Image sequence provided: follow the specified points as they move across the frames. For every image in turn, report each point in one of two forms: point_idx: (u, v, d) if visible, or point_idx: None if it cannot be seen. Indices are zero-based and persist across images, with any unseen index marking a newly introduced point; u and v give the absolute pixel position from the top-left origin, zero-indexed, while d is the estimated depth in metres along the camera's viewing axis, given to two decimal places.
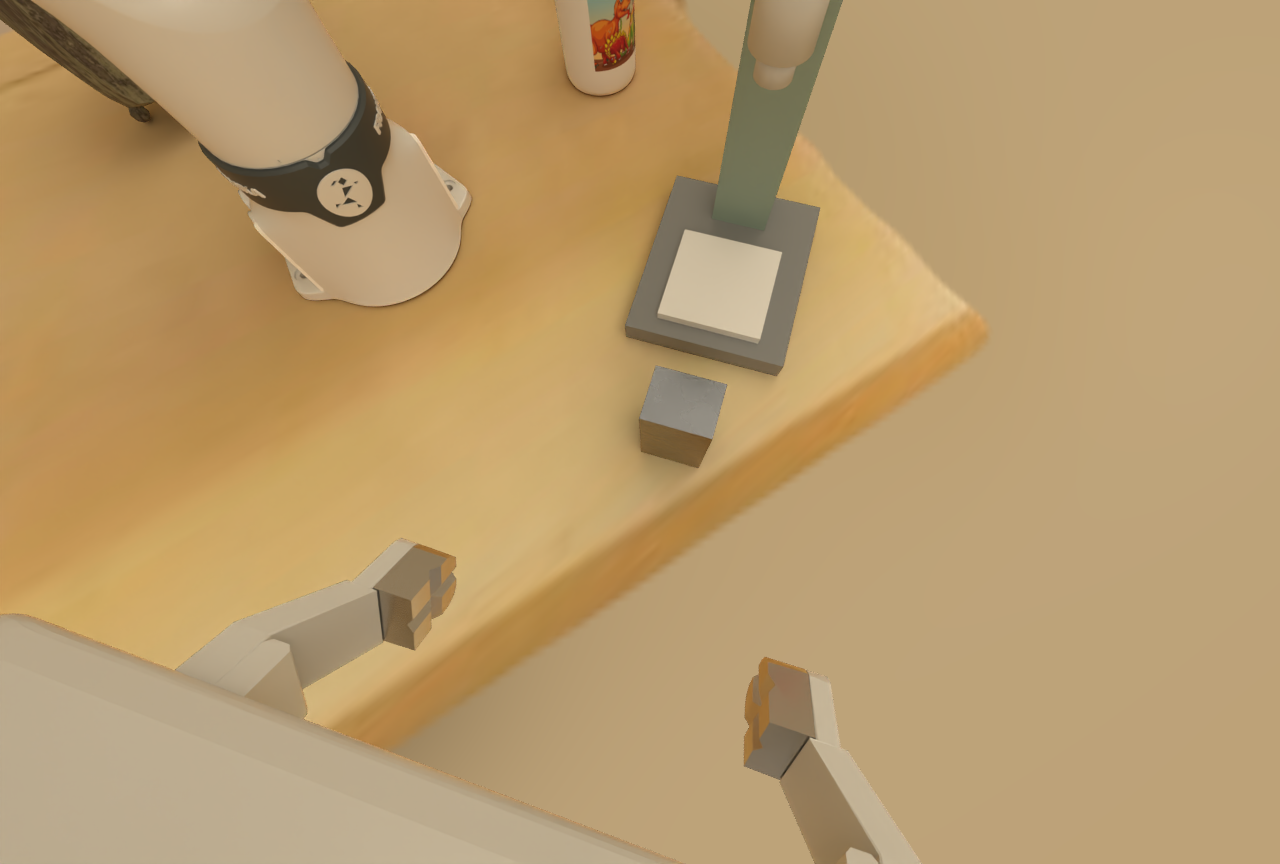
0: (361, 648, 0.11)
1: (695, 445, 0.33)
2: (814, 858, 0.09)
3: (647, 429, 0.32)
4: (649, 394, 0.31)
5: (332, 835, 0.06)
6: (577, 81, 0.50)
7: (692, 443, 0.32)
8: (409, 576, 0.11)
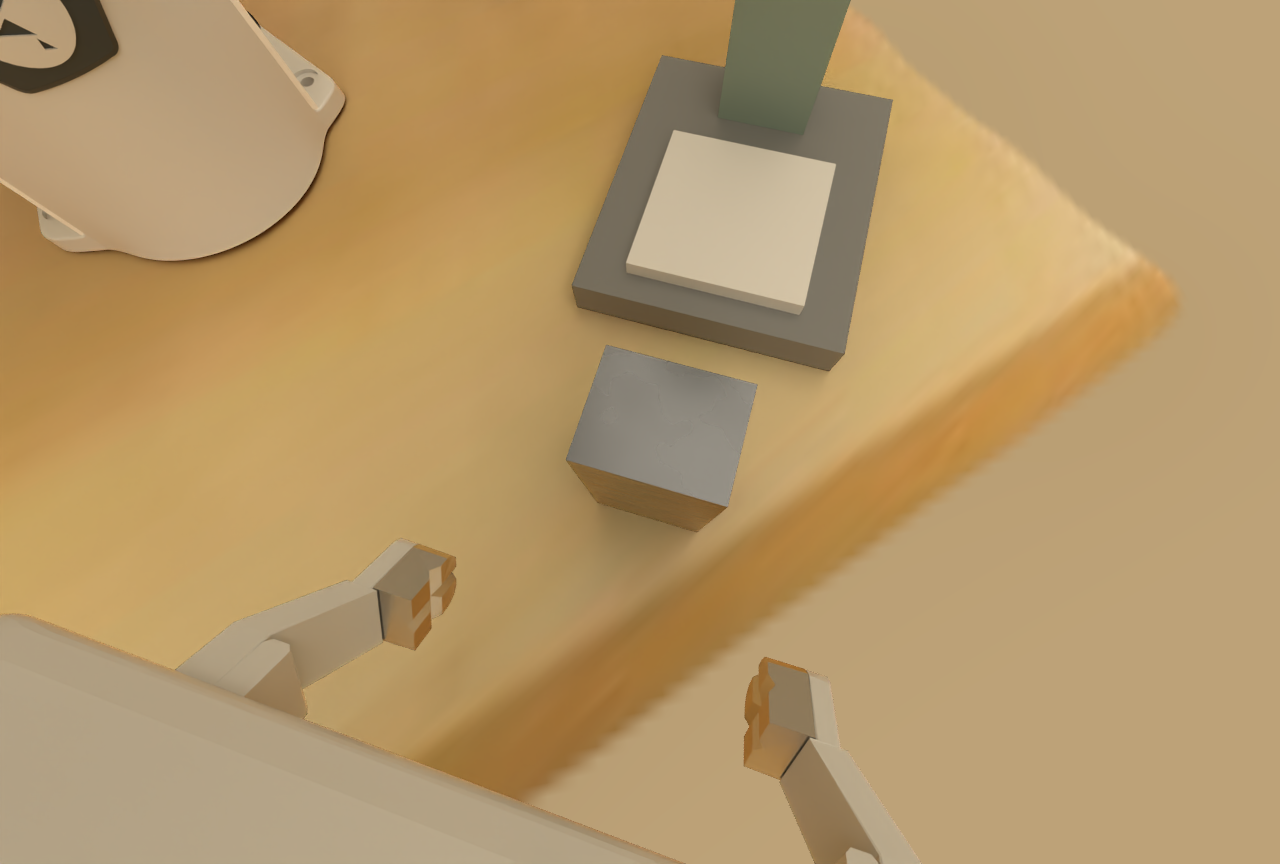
0: (361, 648, 0.11)
1: (690, 509, 0.16)
2: (814, 857, 0.09)
3: (591, 477, 0.16)
4: (590, 406, 0.14)
5: (332, 835, 0.06)
6: None
7: (683, 506, 0.16)
8: (409, 576, 0.11)
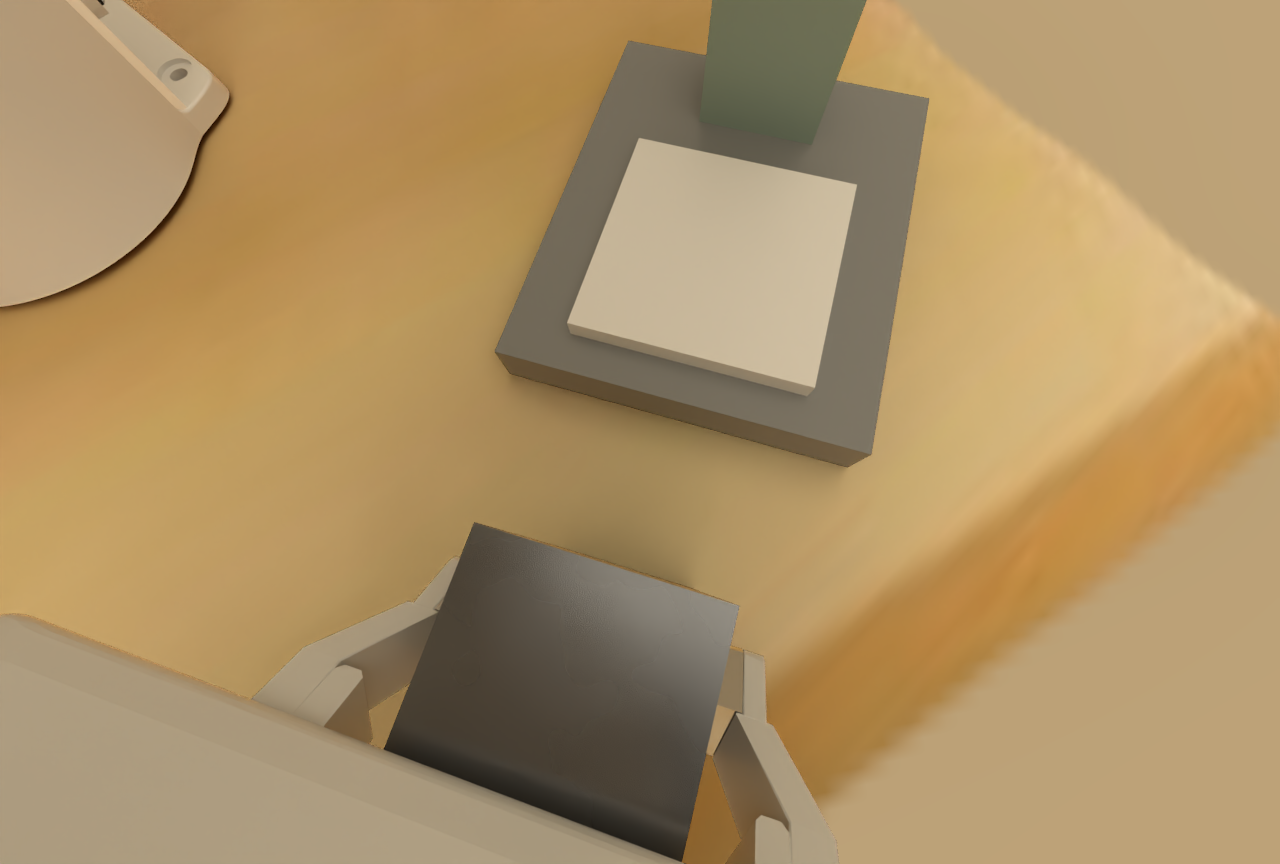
0: None
1: None
2: (740, 830, 0.09)
3: None
4: (435, 647, 0.08)
5: (332, 835, 0.06)
6: None
7: None
8: None
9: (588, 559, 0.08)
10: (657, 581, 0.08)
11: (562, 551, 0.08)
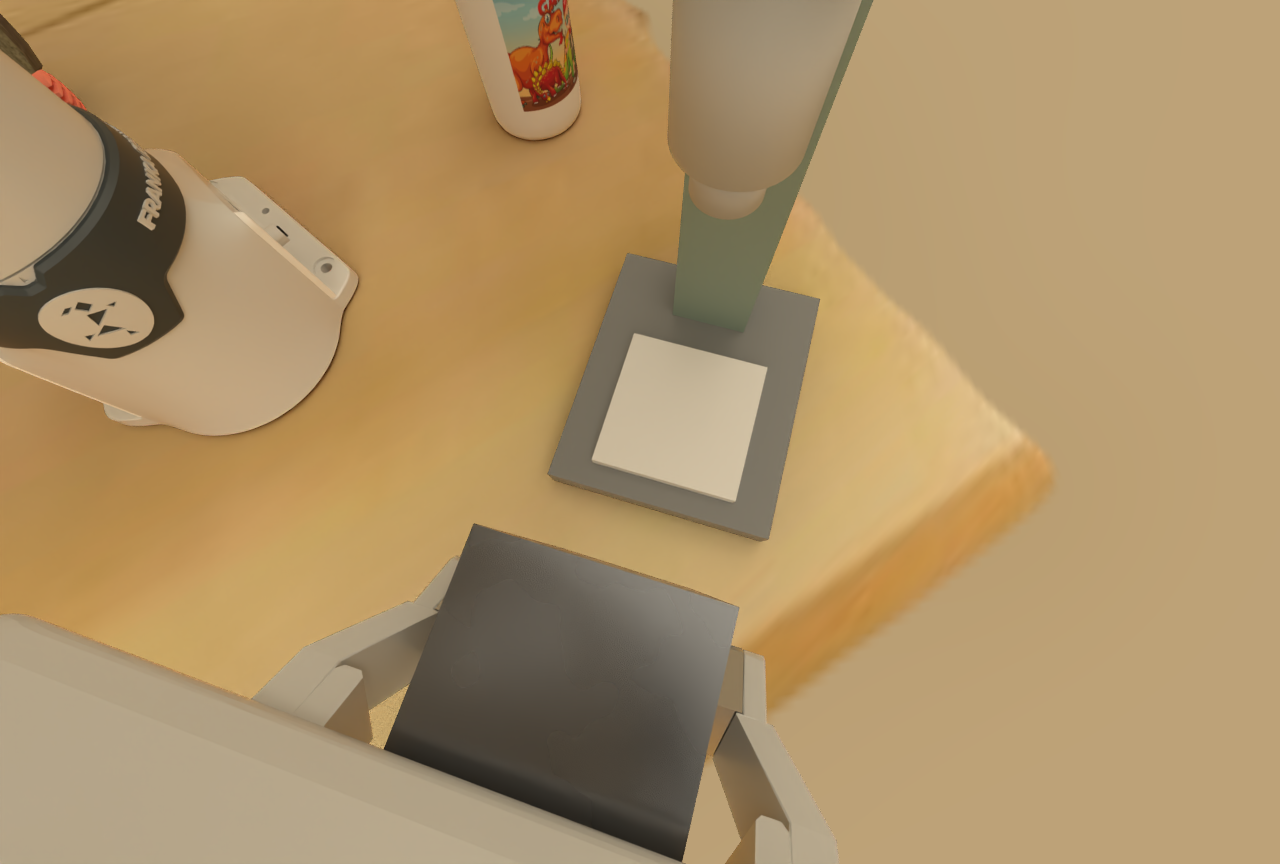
0: None
1: None
2: (739, 831, 0.09)
3: None
4: (434, 649, 0.08)
5: (332, 835, 0.06)
6: (504, 122, 0.38)
7: None
8: None
9: (588, 560, 0.08)
10: (657, 582, 0.08)
11: (562, 552, 0.08)
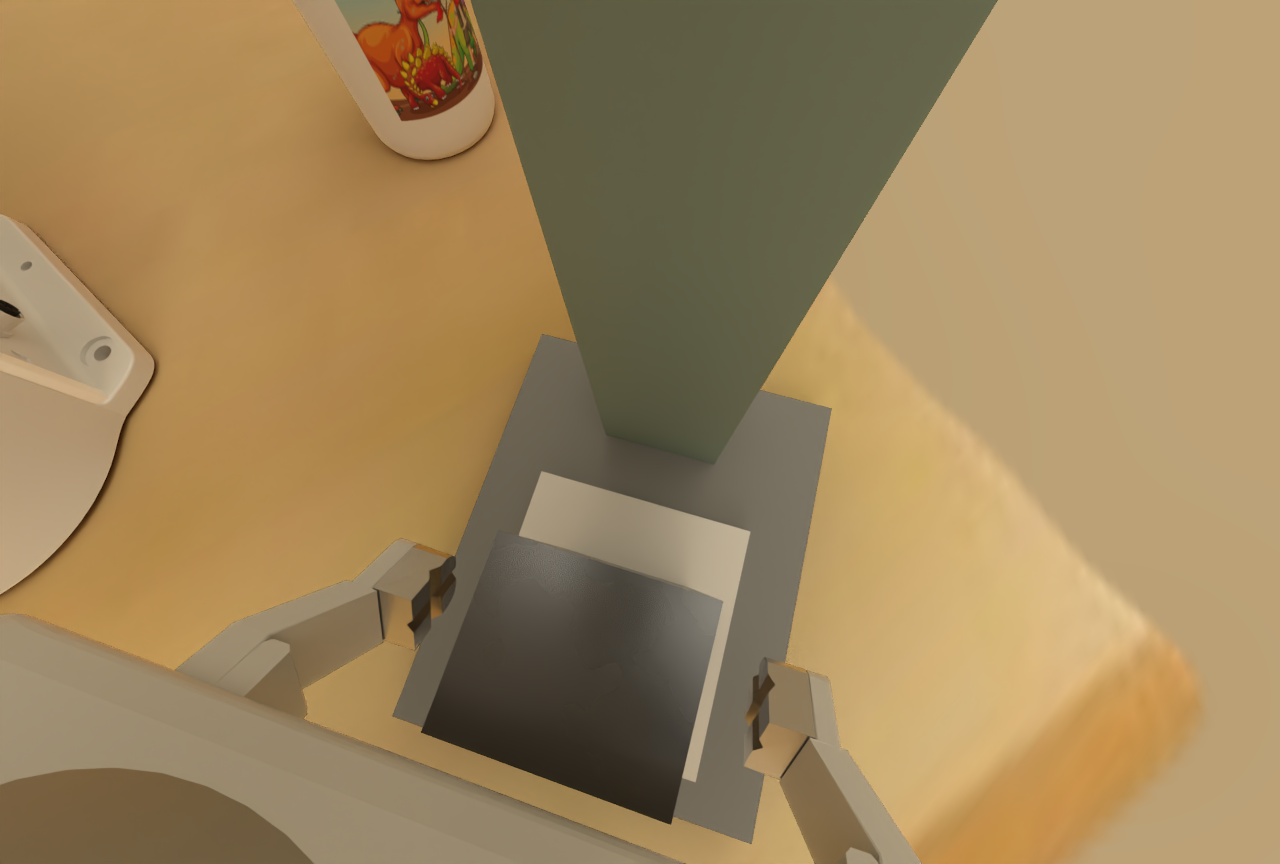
0: (361, 648, 0.11)
1: None
2: (814, 858, 0.09)
3: None
4: (466, 636, 0.09)
5: (332, 835, 0.06)
6: (381, 136, 0.27)
7: None
8: (409, 576, 0.11)
9: (595, 561, 0.10)
10: (654, 580, 0.10)
11: (573, 555, 0.10)
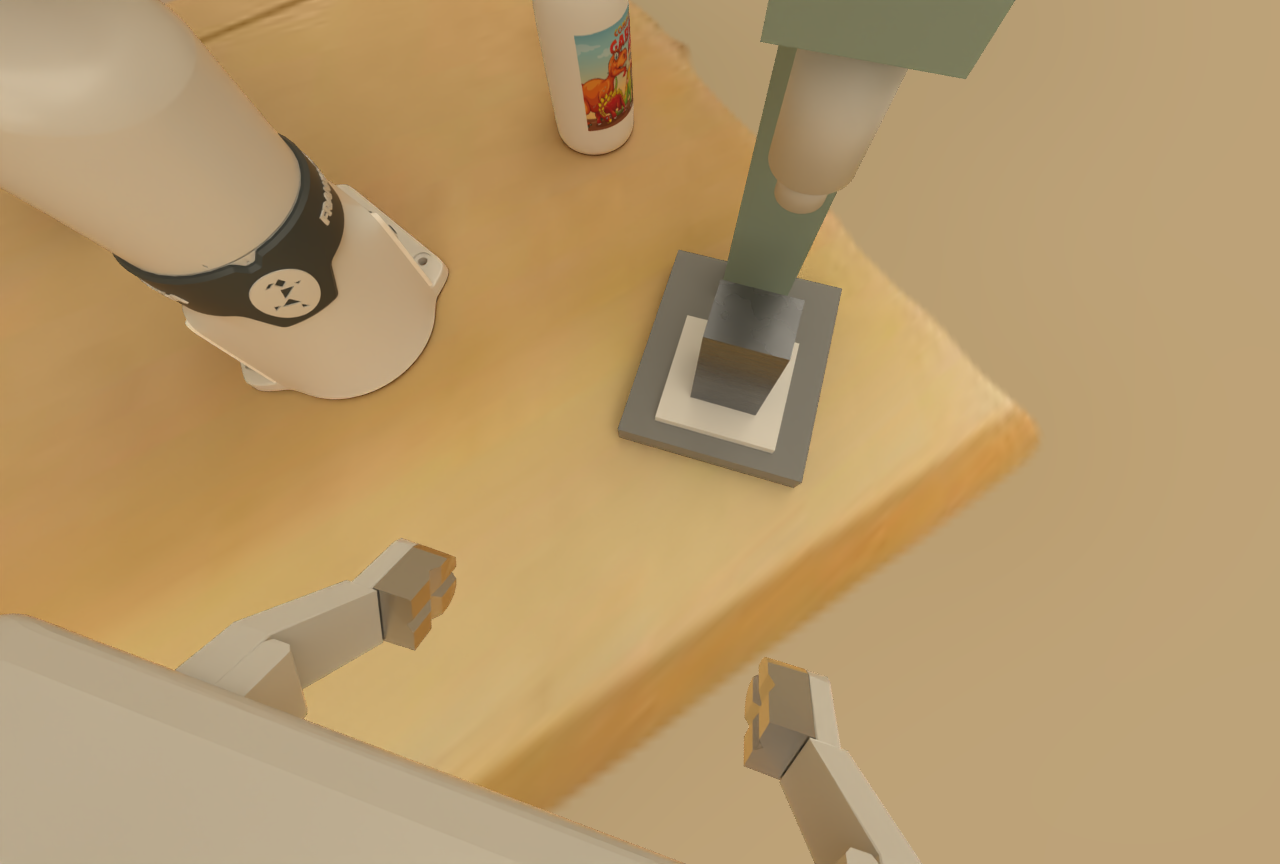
0: (361, 648, 0.11)
1: (764, 375, 0.28)
2: (814, 858, 0.09)
3: (708, 355, 0.28)
4: (714, 310, 0.27)
5: (332, 835, 0.06)
6: (569, 140, 0.45)
7: (760, 372, 0.28)
8: (409, 576, 0.11)
9: (757, 289, 0.27)
10: (779, 294, 0.27)
11: None
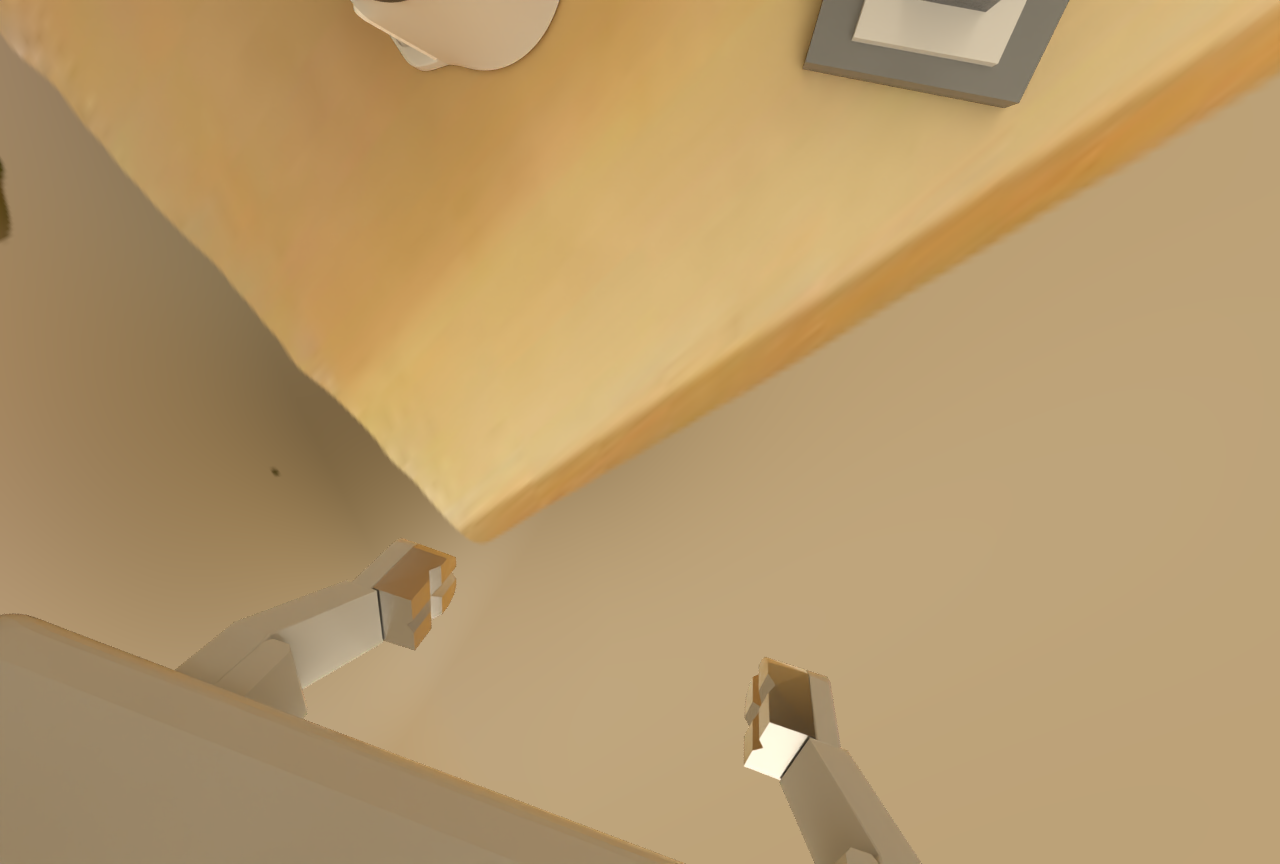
0: (361, 648, 0.11)
1: None
2: (814, 858, 0.09)
3: None
4: None
5: (332, 835, 0.06)
6: None
7: None
8: (409, 576, 0.11)
9: None
10: None
11: None
